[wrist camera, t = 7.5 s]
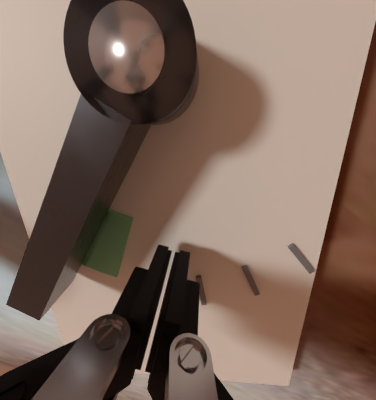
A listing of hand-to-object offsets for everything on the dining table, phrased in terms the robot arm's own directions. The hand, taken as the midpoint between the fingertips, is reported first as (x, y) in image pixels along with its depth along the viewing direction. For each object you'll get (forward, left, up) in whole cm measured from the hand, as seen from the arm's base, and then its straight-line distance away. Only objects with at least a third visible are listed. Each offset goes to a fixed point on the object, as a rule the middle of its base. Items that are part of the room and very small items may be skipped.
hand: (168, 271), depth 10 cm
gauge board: (0, -2, -3) cm, 3 cm away
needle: (+3, -5, 0) cm, 6 cm away
